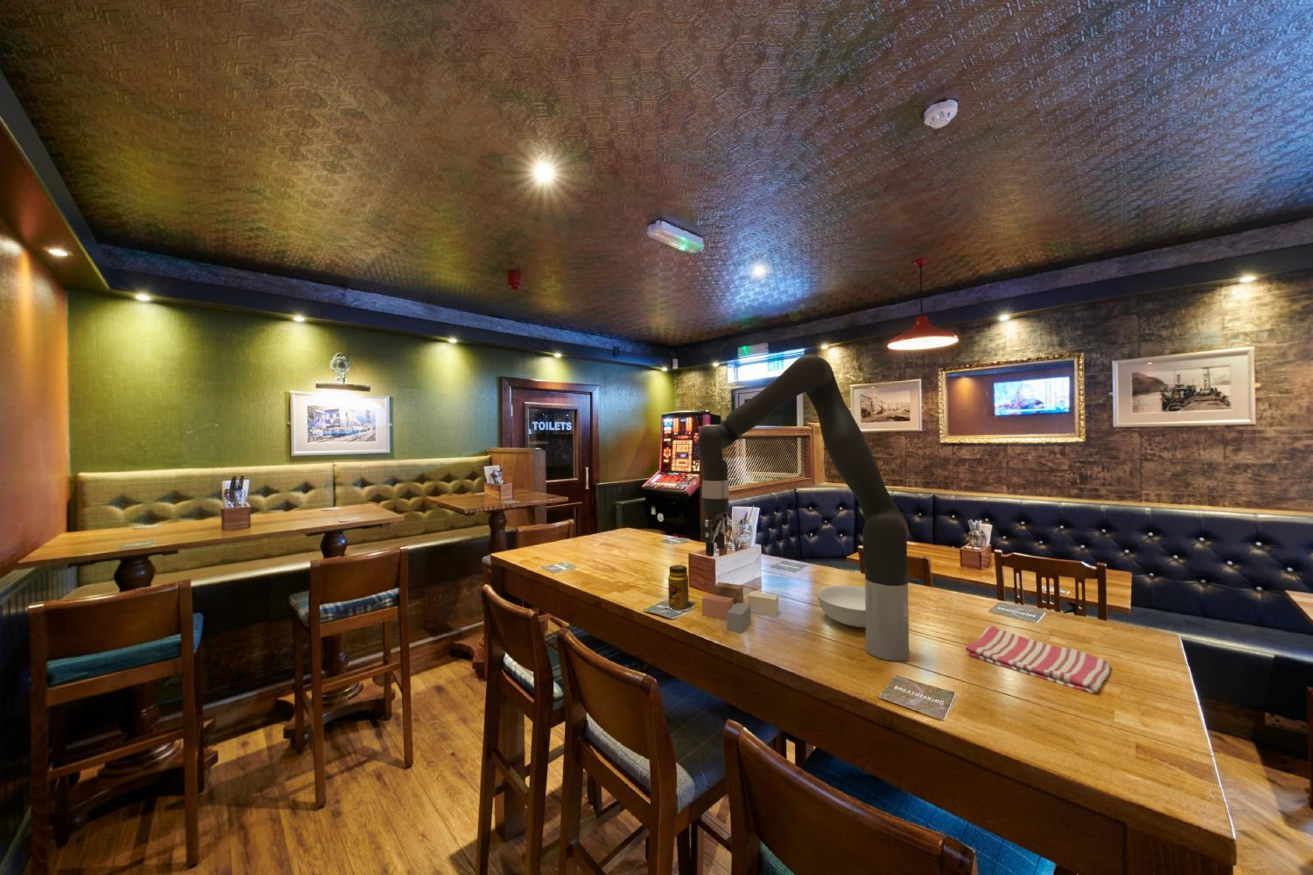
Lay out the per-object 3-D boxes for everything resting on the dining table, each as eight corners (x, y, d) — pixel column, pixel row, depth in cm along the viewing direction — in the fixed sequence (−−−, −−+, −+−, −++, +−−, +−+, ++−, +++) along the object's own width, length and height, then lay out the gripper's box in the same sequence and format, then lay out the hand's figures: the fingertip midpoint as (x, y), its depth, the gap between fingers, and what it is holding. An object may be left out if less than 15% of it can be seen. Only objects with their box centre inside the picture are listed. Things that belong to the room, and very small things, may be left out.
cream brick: (778, 612, 139) (778, 595, 139) (775, 617, 136) (775, 599, 136) (751, 607, 143) (751, 591, 143) (747, 612, 140) (747, 595, 140)
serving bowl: (915, 637, 122) (915, 610, 121) (832, 637, 122) (832, 610, 122) (879, 607, 142) (878, 584, 142) (808, 607, 143) (808, 584, 143)
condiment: (664, 609, 143) (663, 569, 143) (672, 599, 151) (672, 561, 151) (687, 611, 140) (687, 571, 140) (695, 602, 148) (694, 563, 148)
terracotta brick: (733, 615, 138) (733, 598, 138) (728, 620, 134) (728, 602, 134) (707, 610, 141) (707, 593, 141) (702, 615, 138) (702, 598, 138)
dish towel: (987, 636, 122) (987, 622, 122) (1112, 670, 105) (1112, 654, 105) (964, 657, 111) (964, 642, 111) (1099, 699, 94) (1099, 682, 94)
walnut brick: (743, 601, 149) (743, 585, 149) (739, 605, 145) (738, 589, 145) (718, 597, 152) (718, 581, 152) (714, 601, 149) (714, 585, 149)
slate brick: (736, 620, 134) (736, 602, 134) (750, 622, 132) (750, 604, 132) (726, 630, 127) (726, 612, 127) (741, 633, 125) (741, 614, 125)
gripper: (719, 499, 128) (719, 559, 129) (735, 493, 141) (736, 548, 141) (693, 498, 132) (693, 556, 132) (712, 491, 144) (712, 545, 145)
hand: (715, 552), depth 137 cm, fingers open, 8 cm apart
